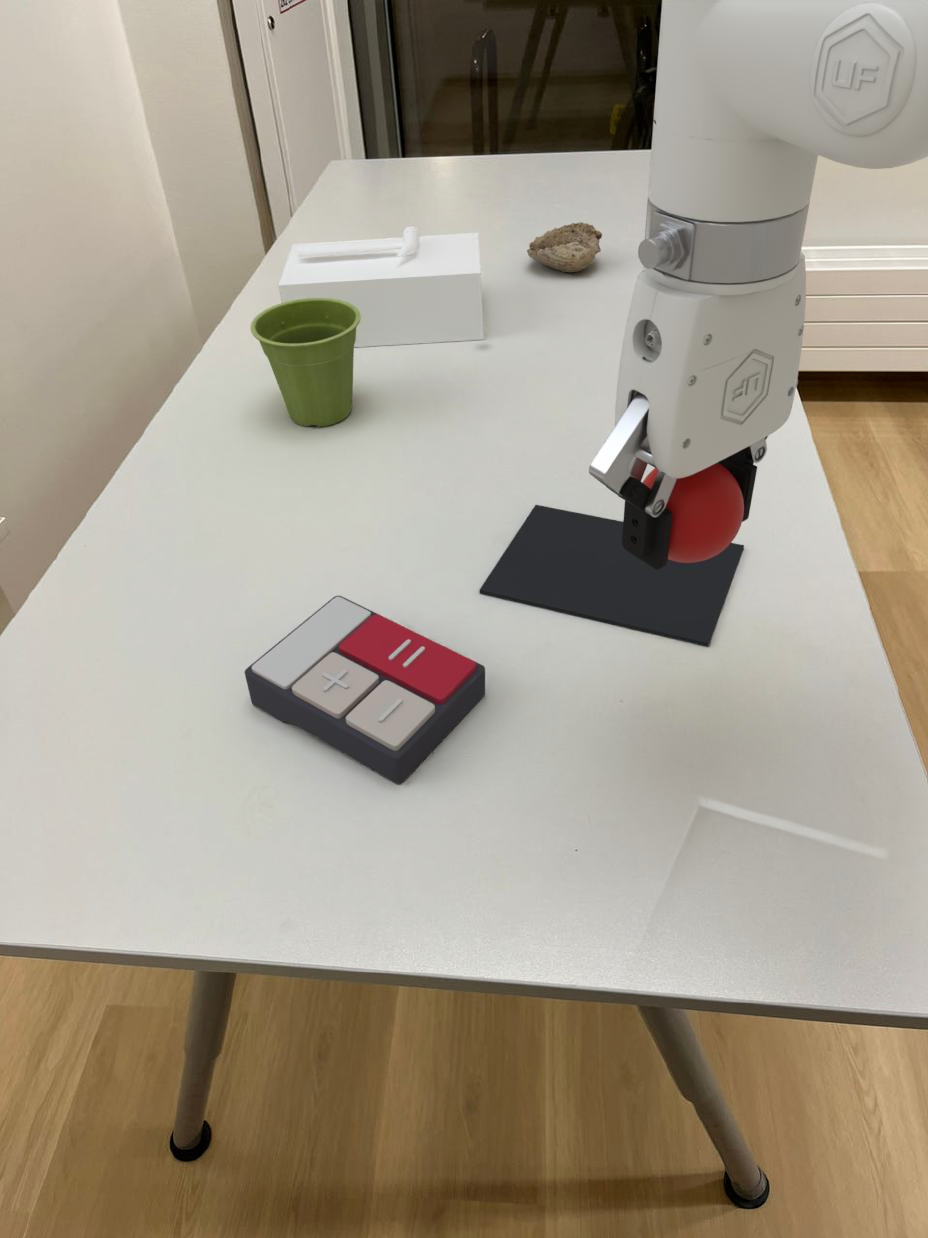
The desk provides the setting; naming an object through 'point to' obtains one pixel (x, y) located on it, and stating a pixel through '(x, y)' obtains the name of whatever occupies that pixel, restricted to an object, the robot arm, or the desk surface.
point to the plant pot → (311, 356)
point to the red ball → (703, 513)
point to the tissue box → (395, 285)
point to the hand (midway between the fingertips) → (685, 532)
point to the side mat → (610, 577)
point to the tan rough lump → (567, 247)
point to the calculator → (366, 686)
